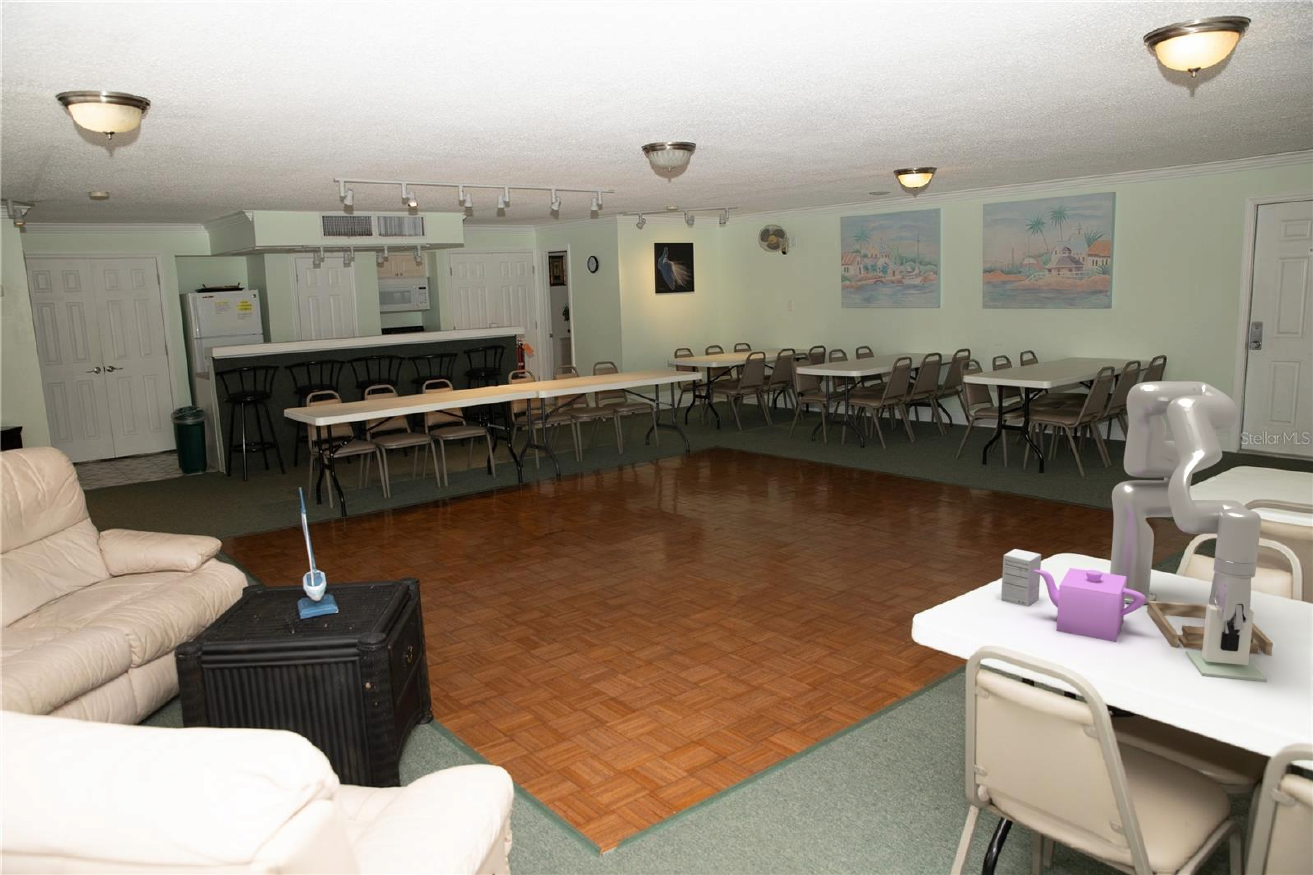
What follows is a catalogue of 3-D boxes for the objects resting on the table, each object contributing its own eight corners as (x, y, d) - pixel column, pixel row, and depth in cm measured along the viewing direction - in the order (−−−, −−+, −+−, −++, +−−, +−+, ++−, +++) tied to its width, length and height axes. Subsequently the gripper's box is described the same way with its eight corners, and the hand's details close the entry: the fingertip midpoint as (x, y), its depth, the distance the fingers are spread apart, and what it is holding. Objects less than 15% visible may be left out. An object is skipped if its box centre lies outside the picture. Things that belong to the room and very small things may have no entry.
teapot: (1036, 605, 229) (1040, 554, 227) (1145, 625, 216) (1150, 570, 213) (1024, 625, 217) (1028, 570, 214) (1139, 646, 203) (1144, 589, 201)
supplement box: (1012, 592, 239) (1014, 548, 237) (1039, 599, 234) (1042, 553, 231) (1000, 599, 234) (1002, 554, 231) (1027, 606, 228) (1030, 560, 226)
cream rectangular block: (1206, 661, 192) (1211, 609, 189) (1201, 655, 194) (1206, 604, 192) (1248, 665, 189) (1253, 612, 187) (1243, 659, 192) (1248, 607, 190)
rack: (1171, 646, 203) (1172, 634, 202) (1146, 611, 224) (1147, 600, 223) (1271, 655, 197) (1272, 642, 197) (1236, 618, 218) (1237, 607, 218)
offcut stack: (1183, 647, 202) (1185, 632, 202) (1177, 639, 207) (1178, 624, 206) (1258, 653, 198) (1259, 638, 198) (1250, 645, 203) (1252, 630, 202)
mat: (1202, 675, 188) (1202, 673, 188) (1185, 652, 199) (1185, 650, 199) (1266, 681, 185) (1266, 679, 185) (1245, 658, 196) (1245, 655, 196)
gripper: (1203, 553, 197) (1195, 631, 200) (1227, 577, 181) (1219, 660, 185) (1241, 556, 195) (1232, 634, 198) (1269, 580, 179) (1260, 664, 183)
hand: (1226, 646), depth 191 cm, fingers closed on cream rectangular block, 2 cm apart
